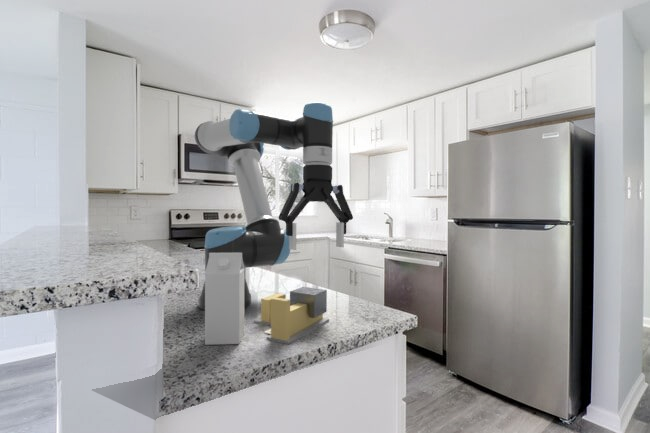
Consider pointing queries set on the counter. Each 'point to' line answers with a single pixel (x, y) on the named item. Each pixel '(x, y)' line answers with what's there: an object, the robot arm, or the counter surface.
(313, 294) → the grey block
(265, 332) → the label
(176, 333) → the counter surface
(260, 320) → the stub
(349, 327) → the counter surface
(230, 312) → the milk carton
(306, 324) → the rail
